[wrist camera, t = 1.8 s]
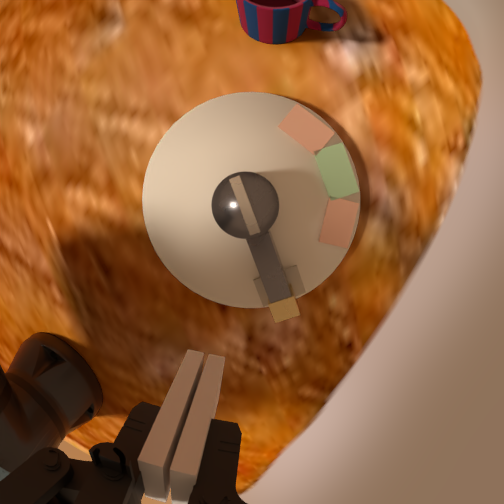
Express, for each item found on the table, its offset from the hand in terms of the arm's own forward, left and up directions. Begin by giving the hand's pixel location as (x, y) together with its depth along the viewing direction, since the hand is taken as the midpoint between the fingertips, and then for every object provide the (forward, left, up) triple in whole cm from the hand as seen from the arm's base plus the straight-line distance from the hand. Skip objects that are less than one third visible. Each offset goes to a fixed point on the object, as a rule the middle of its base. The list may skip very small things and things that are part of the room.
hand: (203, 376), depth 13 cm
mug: (+13, +22, -17) cm, 31 cm away
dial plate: (+3, +6, -16) cm, 18 cm away
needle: (+4, +2, -15) cm, 15 cm away
